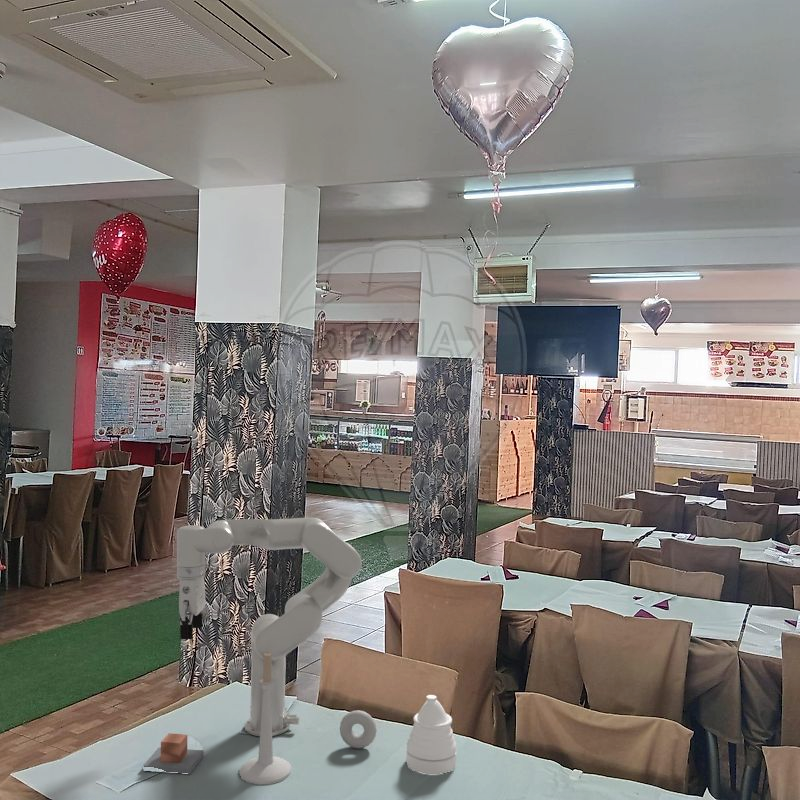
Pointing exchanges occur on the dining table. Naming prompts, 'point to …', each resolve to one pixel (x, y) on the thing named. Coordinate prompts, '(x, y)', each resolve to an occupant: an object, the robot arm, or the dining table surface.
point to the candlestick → (265, 741)
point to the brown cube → (174, 748)
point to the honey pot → (431, 740)
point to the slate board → (182, 767)
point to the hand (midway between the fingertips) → (191, 633)
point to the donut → (349, 735)
